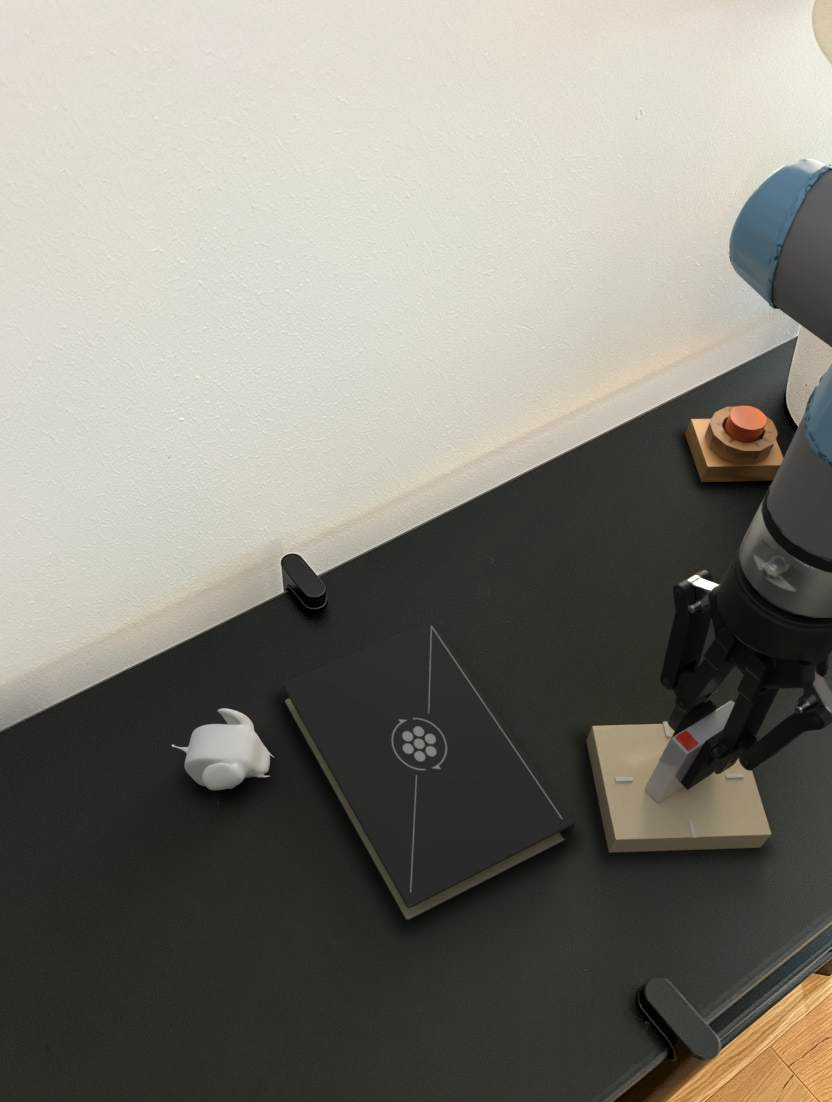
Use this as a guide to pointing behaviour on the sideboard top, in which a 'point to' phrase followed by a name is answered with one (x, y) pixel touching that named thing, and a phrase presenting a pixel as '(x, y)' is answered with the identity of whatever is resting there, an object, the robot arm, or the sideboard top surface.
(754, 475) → the button block
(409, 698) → the book
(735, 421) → the button
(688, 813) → the panel
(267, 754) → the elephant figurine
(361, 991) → the sideboard top surface
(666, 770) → the grey rectangular block
